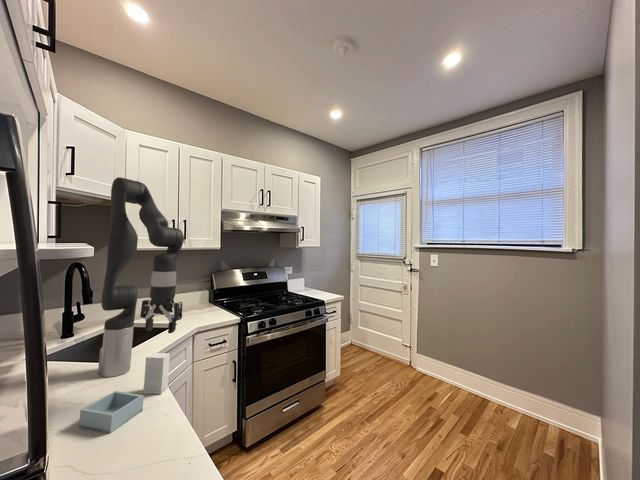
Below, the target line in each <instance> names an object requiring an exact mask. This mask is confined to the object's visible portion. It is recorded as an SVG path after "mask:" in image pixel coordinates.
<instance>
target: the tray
mask: <svg viewBox="0 0 640 480" xmlns="http://www.w3.org/2000/svg"><path fill="white" fill-rule="evenodd" d="M144 395H145V394H144ZM144 395H143V394H142V395H141V394H136V393H130V392H124V391H118V390H116V391H113V392H111V393H109V394H107V395H105V396H104V397H102V398H100V399H97V400H96V401H94V402H92V403H91V404H89V405H87V406H85V407H83V408H82V409H80V410H79V422H78V428H80V429H84V430H85V429H86V430H92V431H97V432H102V433H107V434H112V433H113V432H114V431H116V430H117V429H119V428H121V427H122V426H123V425H124V424H126V423H128V422H129V421H130V420H132V419H134V418H135V417H136V416H138V415H139V414H140V413H142V412H143V411H144V409H143V407H144ZM137 414H138V415H137ZM134 416H135V417H134ZM131 418H132V419H131Z"/></svg>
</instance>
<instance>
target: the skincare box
mask: <svg viewBox="0 0 640 480" xmlns="http://www.w3.org/2000/svg"><path fill="white" fill-rule="evenodd" d="M170 355H171V353H168V352H166V353H165V352H161V353H160V352H157V353H156V352H153V353H151V354H150V355H148V356H146V357H145V364H144V365H145V367H144V381H143V383H144V384H143V394H144V395H146V394H147V395H162V394H163V393H164V392H165V391H166V390H167V389H169V388H168V387H169V372H170V357H171V356H170Z"/></svg>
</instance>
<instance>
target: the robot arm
mask: <svg viewBox="0 0 640 480" xmlns="http://www.w3.org/2000/svg"><path fill="white" fill-rule="evenodd" d="M110 190H111V191H110V224H109V225H110V227H109V233H108V242H107V251H106V252H107V255H106V269H105V275H104V282H103V287H102V293H101V301H100V303H101V308H102V310H104V311H106V312H107V311H119V310H120V311H121V310H122V311H121V312H119V313H118V314H117V315H115V316H112V317H110V318H108V319H106V320H105V321H104V326H103V327H104V328H103V337H102V347H101V348H100V349H99V356H98V357H99V359H98V369H97V370H98V371H97V374H98V375H100V377H103V378H112V377H117V376H120V375H123V374H126V373H128V372H129V371H130V369H131V363H132V362H131V361H132V351H133V339H134V328H135V327H134V325H135V318H136V310H137V303H138V295H139V294H138V287H136V285H134V284H129V285H126V284H125V285H124V284H123V285H117V282H118V279H119V276H120V275H121V273H122V271H123V270H124V269H125V268H126V267H127V265H128V264H129V263H131V261H132V260H133V259H134V257H135V256H136V255H137V253H138V252H137V251H138V242H139V236H138V233H137V232H136V230H135V227H134V226H133V224H132V223H131V221H130V219H129V217H128V215H127V210H126V203H128V204H134V205H139V206H140V209H139V212H138V217H139V219H140V221H141V222H142V225H144V227H145V228H146V231H147V234H148V241H149V242H150V244H151V245H153V246H154V247H157V248H167V249H166V250H165V252H162V253H157V254H156V255H154V257H153V264H152V274H151V277H150V290H149V299H143V300H142V302H141V308H140V315H139V317H140V318H143V319H144V320H145V326H144V327H145V331H146V332H150V331H153V329H154V319H153V318H154V317H155V316H156V315H161V316H162V315H163V316H164V317H165V318H167V320H168V321H169V322H168V327H167V328H168V330H167V334H172V333H174V332H175V331H176V326H177V322H178V321H180V320H182V319H183V302H182V301H180V302H175V301H174V300H175V296H176V290H177V289H176V288H177V264H178V262H177V261H178V257H179V255H180V253H181V249H182V247H183V245H184V240H185V235H184V232H183V230H182V229H180V228H177V227H170V226H169V221H168V219H167V218H166V217H165V216H164V215H163V213H162V212H161V211H160V210H159V208H158V207H157V205H156V203H155V201H154V198H153V197H152V194H151V192H150V190H149V188H148V187H147V186H146V184H145V183H143V182H141V181H138V180H133V179H128V178H124V177H120V176H119V177H115V179H114V180H113V182H112V184H111V189H110Z"/></svg>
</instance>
